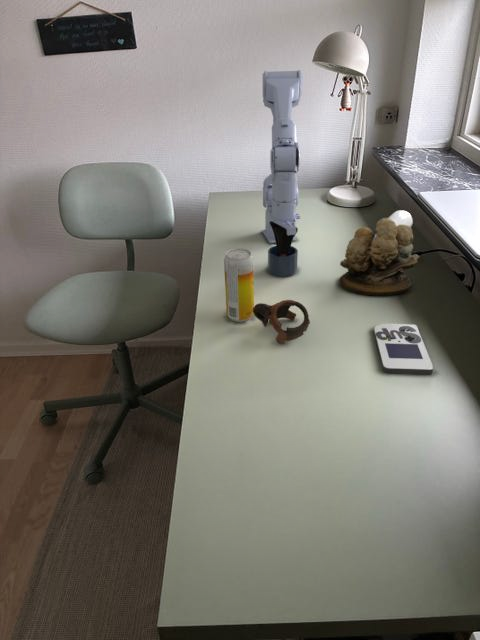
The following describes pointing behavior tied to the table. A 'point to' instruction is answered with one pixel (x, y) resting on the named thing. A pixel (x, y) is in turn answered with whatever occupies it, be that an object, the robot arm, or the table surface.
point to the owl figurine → (379, 260)
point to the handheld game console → (402, 349)
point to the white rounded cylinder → (401, 218)
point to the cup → (282, 262)
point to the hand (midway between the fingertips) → (282, 251)
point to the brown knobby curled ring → (282, 311)
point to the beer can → (239, 284)
